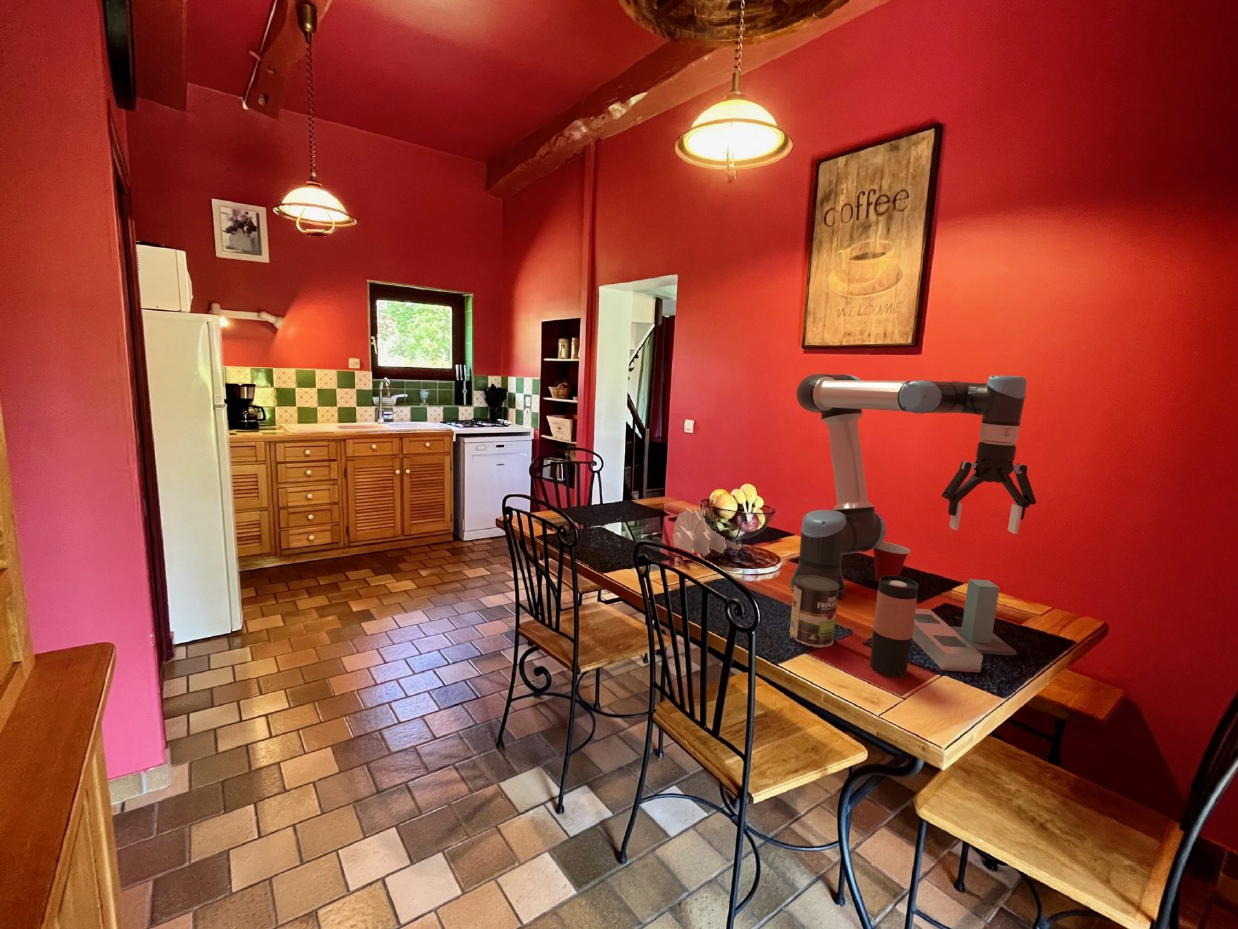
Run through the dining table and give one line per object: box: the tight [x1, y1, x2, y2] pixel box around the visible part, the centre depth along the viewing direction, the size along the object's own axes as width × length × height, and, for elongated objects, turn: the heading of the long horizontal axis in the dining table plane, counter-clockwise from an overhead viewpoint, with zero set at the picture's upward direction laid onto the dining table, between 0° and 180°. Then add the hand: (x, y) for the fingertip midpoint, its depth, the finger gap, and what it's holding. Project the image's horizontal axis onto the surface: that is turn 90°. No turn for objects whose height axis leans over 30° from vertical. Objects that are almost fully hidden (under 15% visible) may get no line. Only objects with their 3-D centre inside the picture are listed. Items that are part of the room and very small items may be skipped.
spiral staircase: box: [671, 507, 742, 557], centre depth 192 cm, size 18×18×25 cm
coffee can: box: [789, 575, 840, 649], centre depth 136 cm, size 10×10×14 cm
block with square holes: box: [912, 608, 984, 673], centre depth 135 cm, size 8×24×4 cm, turn 177°
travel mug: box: [869, 575, 919, 678], centre depth 122 cm, size 8×8×20 cm
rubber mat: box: [950, 626, 1018, 656], centre depth 138 cm, size 12×12×1 cm
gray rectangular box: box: [961, 578, 1000, 643], centre depth 137 cm, size 5×5×14 cm
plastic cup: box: [872, 541, 911, 583], centre depth 175 cm, size 11×11×12 cm
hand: (983, 530), depth 136 cm, fingers open, 13 cm apart
